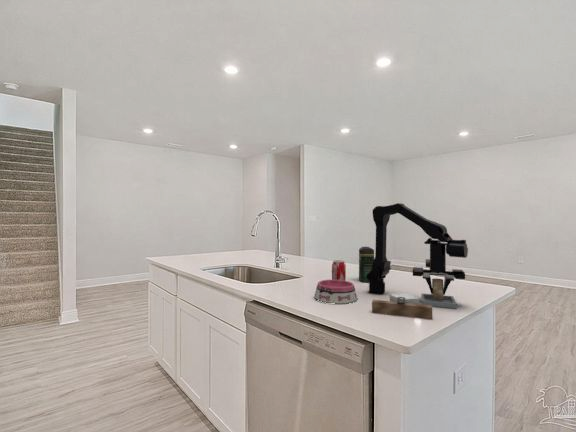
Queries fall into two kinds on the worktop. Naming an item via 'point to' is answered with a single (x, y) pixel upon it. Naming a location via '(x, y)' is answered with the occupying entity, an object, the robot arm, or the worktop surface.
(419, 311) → the stop rail
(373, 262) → the robot arm
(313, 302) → the worktop surface
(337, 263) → the soda can
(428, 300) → the tray
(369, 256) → the coffee jar
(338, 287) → the dog bowl
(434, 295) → the dowel
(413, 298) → the small box
